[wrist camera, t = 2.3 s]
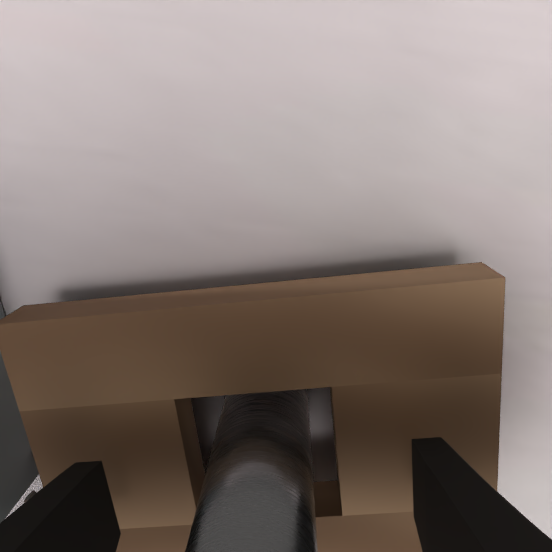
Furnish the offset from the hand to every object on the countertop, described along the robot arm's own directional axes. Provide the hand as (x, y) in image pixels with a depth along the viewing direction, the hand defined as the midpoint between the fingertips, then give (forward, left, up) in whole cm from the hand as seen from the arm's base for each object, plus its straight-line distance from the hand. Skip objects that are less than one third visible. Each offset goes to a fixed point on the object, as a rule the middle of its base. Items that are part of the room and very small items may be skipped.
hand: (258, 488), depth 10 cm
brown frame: (0, 0, -3) cm, 3 cm away
